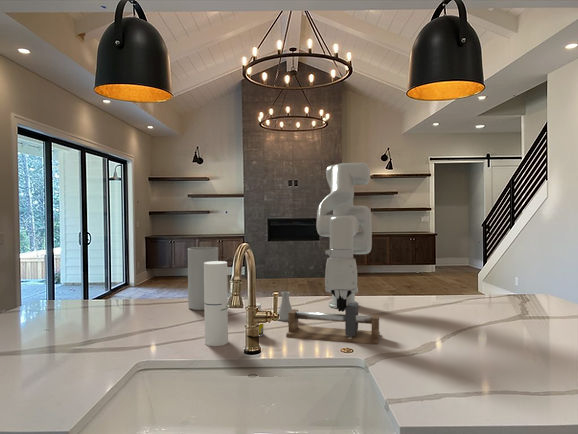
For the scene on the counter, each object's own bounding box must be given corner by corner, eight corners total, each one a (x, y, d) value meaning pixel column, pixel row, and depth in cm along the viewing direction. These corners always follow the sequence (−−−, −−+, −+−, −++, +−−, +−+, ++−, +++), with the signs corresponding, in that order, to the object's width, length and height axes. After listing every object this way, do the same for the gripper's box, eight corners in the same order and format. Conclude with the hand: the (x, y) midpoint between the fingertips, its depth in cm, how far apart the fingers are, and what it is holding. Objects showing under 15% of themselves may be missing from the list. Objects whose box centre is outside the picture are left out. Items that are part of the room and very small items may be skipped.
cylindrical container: (202, 340, 131) (201, 261, 131) (224, 337, 134) (224, 260, 134) (207, 347, 125) (206, 264, 124) (230, 344, 128) (229, 263, 127)
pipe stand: (286, 336, 135) (286, 314, 135) (294, 328, 144) (294, 307, 144) (377, 344, 127) (377, 320, 127) (379, 334, 136) (379, 312, 136)
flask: (296, 316, 160) (295, 290, 160) (294, 321, 153) (294, 294, 153) (277, 316, 161) (277, 290, 160) (274, 321, 154) (274, 294, 153)
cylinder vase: (223, 304, 181) (222, 247, 180) (211, 311, 169) (210, 250, 168) (196, 303, 184) (195, 246, 183) (183, 309, 172) (182, 249, 171)
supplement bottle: (244, 334, 138) (243, 303, 138) (259, 331, 140) (259, 301, 140) (249, 338, 133) (249, 307, 133) (265, 336, 135) (265, 305, 135)
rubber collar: (345, 335, 130) (345, 308, 130) (349, 327, 138) (349, 302, 138) (355, 335, 129) (354, 309, 129) (358, 328, 137) (358, 303, 137)
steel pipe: (292, 319, 138) (292, 311, 138) (294, 317, 140) (294, 309, 140) (375, 325, 130) (375, 317, 130) (375, 323, 133) (375, 314, 133)
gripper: (316, 254, 133) (316, 311, 133) (363, 255, 129) (363, 314, 129) (321, 252, 140) (321, 306, 140) (365, 253, 136) (366, 309, 136)
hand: (341, 310), depth 135 cm, fingers closed
